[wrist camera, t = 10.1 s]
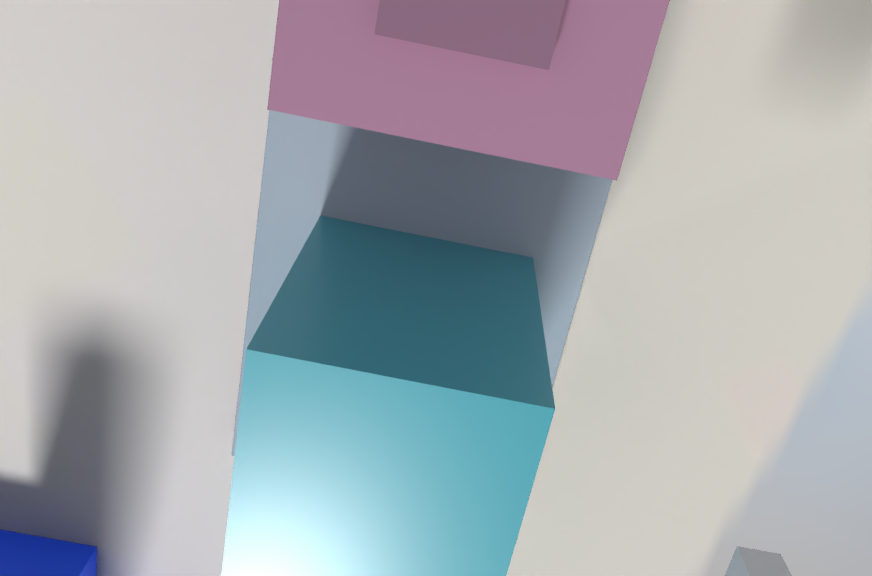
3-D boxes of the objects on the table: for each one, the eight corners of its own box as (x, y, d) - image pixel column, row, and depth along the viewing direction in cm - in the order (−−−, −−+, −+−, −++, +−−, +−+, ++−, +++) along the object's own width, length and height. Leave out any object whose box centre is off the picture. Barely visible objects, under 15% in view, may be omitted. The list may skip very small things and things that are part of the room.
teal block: (320, 215, 20) (246, 349, 14) (533, 257, 20) (555, 408, 14) (294, 398, 22) (220, 586, 16) (487, 435, 22) (488, 635, 16)
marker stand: (237, 443, 23) (129, 671, 16) (323, -319, 16) (196, -509, 9) (515, 495, 24) (529, 744, 17) (724, -232, 16) (910, -349, 9)
